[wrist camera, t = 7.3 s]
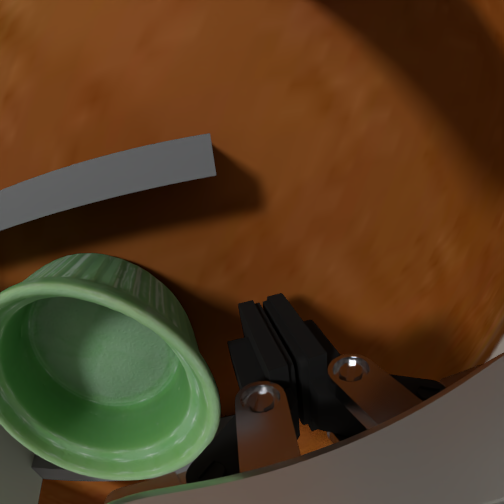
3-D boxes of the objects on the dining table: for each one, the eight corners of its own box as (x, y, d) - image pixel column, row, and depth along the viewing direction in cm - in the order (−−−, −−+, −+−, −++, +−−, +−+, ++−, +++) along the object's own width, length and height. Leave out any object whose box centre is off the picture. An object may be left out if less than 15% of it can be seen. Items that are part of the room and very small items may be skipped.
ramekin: (151, 432, 14) (153, 499, 10) (-2, 355, 11) (-36, 413, 7) (246, 309, 13) (278, 376, 9) (53, 193, 10) (-6, 218, 6)
